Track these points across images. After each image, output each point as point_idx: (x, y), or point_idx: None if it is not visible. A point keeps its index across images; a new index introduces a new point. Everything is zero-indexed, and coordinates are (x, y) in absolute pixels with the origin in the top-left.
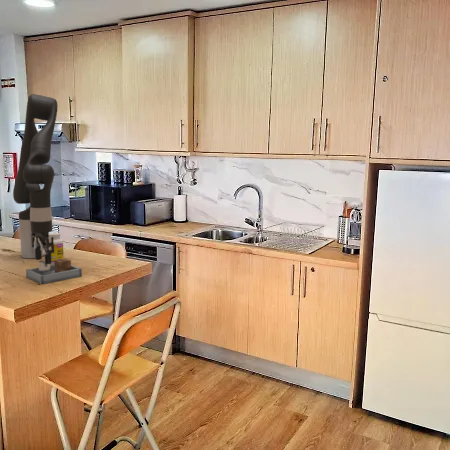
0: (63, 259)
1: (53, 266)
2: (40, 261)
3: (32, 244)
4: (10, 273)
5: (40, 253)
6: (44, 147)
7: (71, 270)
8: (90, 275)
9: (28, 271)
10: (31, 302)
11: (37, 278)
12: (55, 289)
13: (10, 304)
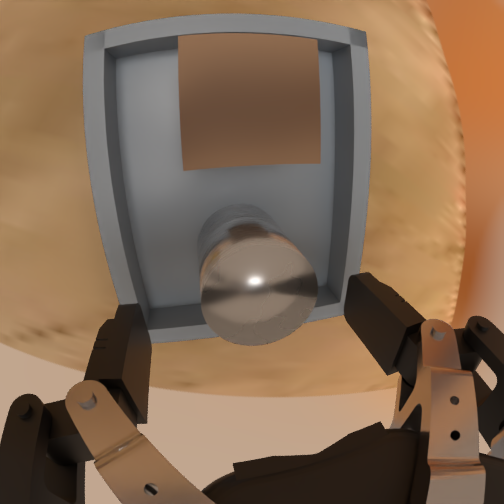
0: (229, 74)
1: (109, 147)
2: (222, 326)
3: (75, 475)
4: (39, 342)
5: (131, 352)
6: None
7: (366, 103)
8: (348, 8)
9: (172, 338)
10: None
11: None
12: (425, 257)
13: None
